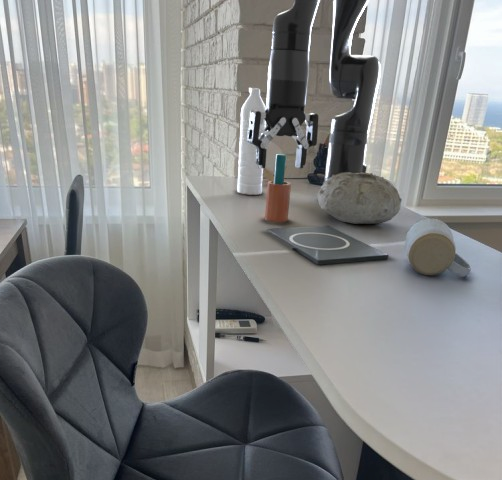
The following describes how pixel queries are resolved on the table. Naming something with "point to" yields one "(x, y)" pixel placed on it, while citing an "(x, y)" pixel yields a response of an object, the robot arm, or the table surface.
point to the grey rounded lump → (359, 198)
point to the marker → (280, 169)
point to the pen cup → (277, 201)
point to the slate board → (327, 245)
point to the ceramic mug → (433, 249)
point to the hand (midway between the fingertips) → (280, 167)
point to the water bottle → (250, 148)
